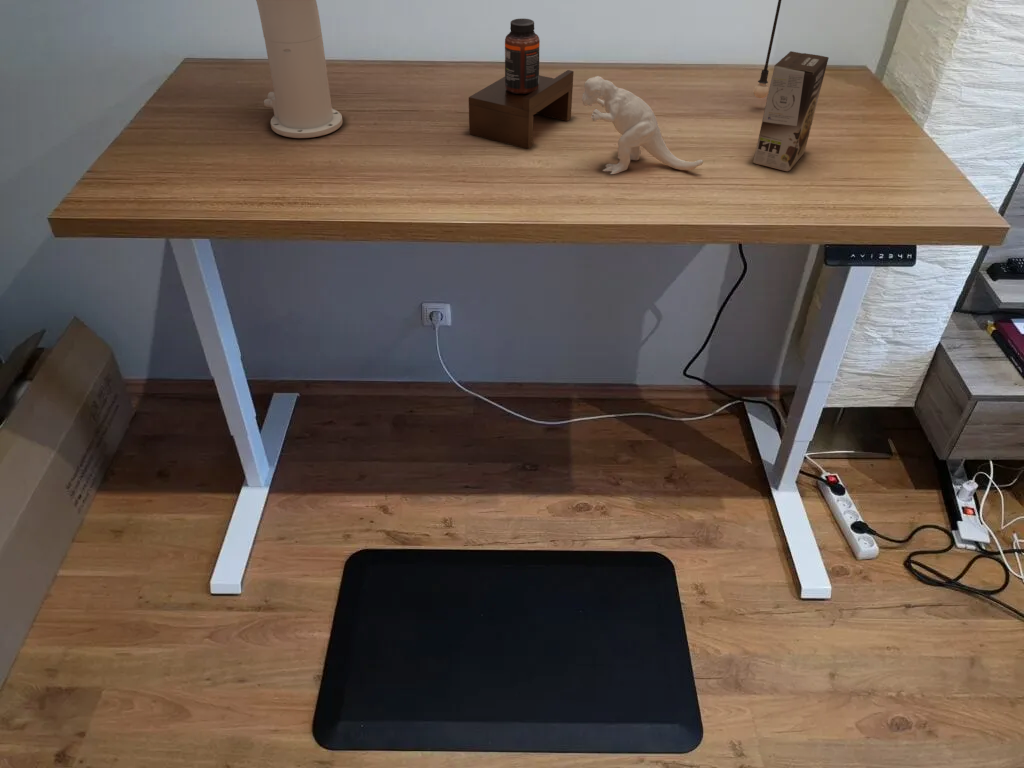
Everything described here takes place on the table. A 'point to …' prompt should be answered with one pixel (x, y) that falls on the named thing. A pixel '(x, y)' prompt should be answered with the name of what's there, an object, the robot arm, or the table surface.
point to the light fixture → (762, 88)
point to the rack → (518, 109)
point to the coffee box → (790, 110)
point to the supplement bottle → (522, 57)
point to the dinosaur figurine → (630, 125)
